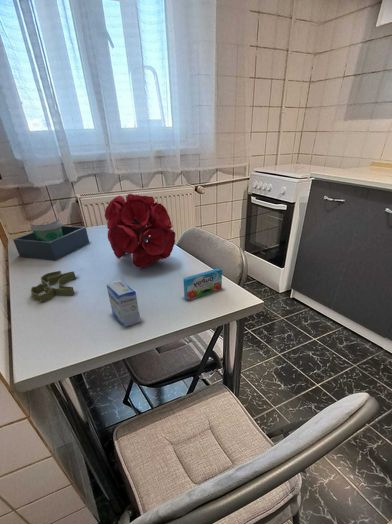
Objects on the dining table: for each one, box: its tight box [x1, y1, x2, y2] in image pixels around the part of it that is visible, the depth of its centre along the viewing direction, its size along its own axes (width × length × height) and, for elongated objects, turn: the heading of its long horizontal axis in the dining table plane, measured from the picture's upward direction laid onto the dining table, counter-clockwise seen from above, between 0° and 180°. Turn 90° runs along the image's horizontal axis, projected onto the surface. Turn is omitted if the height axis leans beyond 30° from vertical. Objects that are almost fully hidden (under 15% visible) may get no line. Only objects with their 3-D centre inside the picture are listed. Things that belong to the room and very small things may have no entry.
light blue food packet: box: [182, 268, 223, 301], centre depth 83 cm, size 12×2×6 cm, turn 123°
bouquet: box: [104, 193, 176, 269], centre depth 101 cm, size 22×24×30 cm
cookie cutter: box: [30, 270, 77, 303], centre depth 91 cm, size 18×12×2 cm, turn 15°
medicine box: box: [106, 280, 141, 328], centre depth 73 cm, size 8×4×9 cm, turn 35°
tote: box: [12, 225, 90, 261], centre depth 120 cm, size 18×22×7 cm
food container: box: [30, 218, 63, 242], centre depth 119 cm, size 12×6×10 cm, turn 138°
